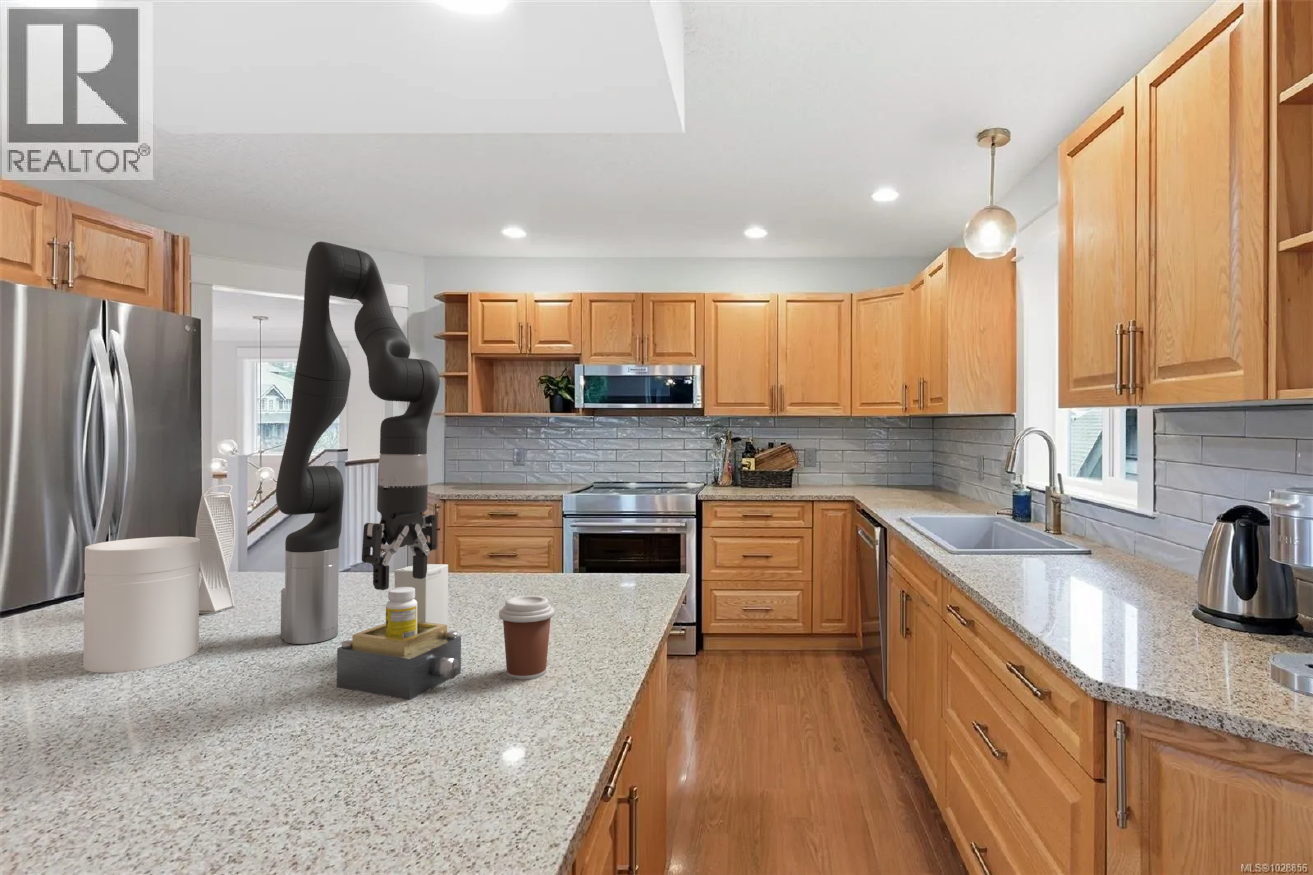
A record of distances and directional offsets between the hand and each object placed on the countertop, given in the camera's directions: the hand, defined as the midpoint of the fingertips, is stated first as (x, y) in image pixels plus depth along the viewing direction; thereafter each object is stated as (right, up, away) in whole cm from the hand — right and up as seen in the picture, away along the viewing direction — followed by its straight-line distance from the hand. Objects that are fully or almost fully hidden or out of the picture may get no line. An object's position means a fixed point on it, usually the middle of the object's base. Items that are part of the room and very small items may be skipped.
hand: (401, 583), depth 105 cm
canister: (-49, -15, +10) cm, 53 cm away
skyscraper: (-59, -16, +42) cm, 74 cm away
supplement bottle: (0, -10, 0) cm, 10 cm away
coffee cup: (+19, -16, +3) cm, 25 cm away
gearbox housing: (+1, -15, -1) cm, 15 cm away
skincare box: (-2, -16, +13) cm, 21 cm away
